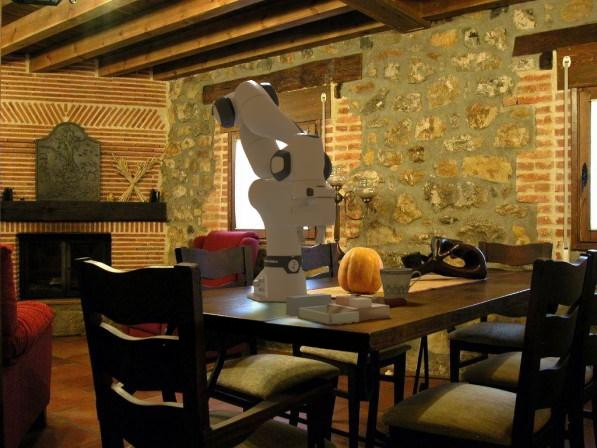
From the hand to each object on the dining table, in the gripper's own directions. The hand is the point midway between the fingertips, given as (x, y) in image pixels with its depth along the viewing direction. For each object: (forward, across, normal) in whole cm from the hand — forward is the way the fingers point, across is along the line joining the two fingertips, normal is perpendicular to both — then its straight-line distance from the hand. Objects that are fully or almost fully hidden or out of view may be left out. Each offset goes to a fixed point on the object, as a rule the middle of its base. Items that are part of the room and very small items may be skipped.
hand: (310, 243), depth 165 cm
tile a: (+16, +9, +5) cm, 19 cm away
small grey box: (+19, -1, 0) cm, 19 cm away
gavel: (+20, +1, +24) cm, 31 cm away
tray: (+19, +12, -3) cm, 23 cm away
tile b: (+16, +15, +6) cm, 22 cm away
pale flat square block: (+19, +12, +7) cm, 23 cm away
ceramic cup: (+19, -7, +36) cm, 42 cm away
